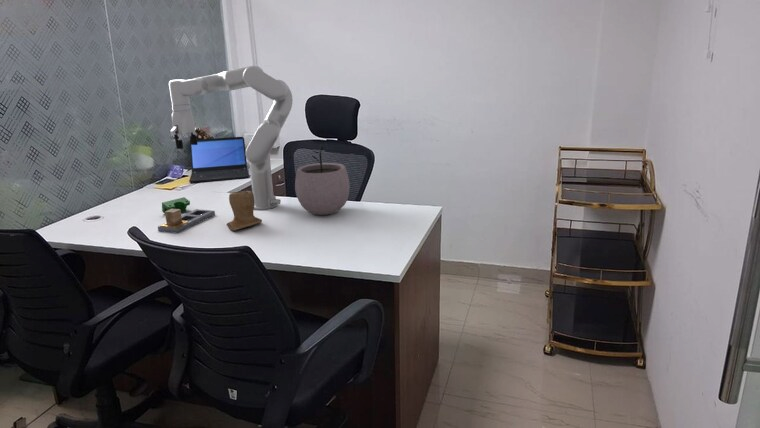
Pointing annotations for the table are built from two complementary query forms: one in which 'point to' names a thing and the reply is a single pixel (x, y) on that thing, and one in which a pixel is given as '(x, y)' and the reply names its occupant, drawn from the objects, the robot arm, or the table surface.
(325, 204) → the plant pot
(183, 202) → the green toy truck
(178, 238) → the table surface
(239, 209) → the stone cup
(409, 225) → the table surface
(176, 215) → the peg
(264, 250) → the table surface
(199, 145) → the laptop
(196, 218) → the grey slotted board
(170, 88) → the robot arm
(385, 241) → the table surface
